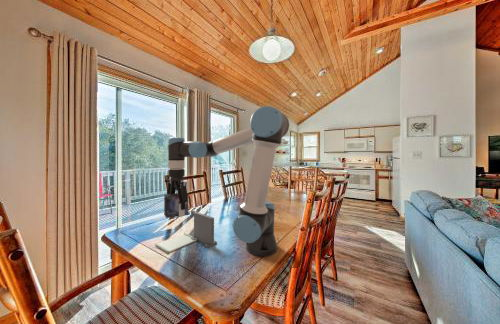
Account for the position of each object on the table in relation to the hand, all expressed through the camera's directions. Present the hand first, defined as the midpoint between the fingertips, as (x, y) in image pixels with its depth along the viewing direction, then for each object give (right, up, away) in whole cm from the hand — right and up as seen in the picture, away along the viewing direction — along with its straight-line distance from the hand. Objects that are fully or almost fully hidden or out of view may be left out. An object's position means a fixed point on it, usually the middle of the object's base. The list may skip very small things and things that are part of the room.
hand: (176, 213), depth 98 cm
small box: (0, -1, 0) cm, 1 cm away
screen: (+13, -15, +3) cm, 20 cm away
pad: (0, -15, +1) cm, 15 cm away
